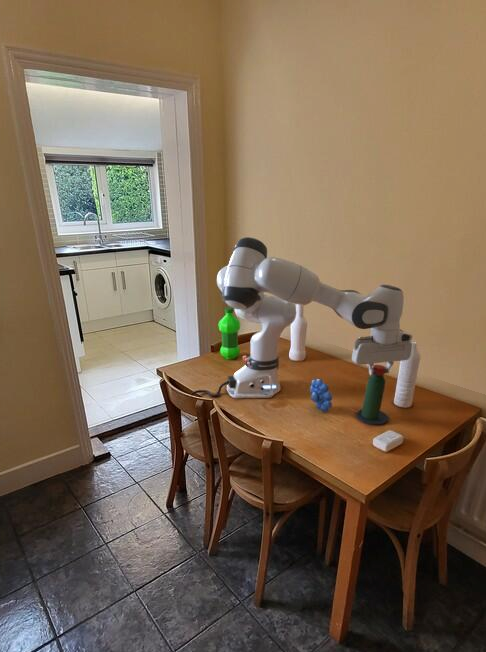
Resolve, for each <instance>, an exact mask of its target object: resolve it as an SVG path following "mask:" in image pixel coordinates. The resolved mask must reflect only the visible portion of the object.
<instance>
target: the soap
mask: <svg viewBox="0 0 486 652" xmlns="http://www.w3.org/2000/svg"><path fill="white" fill-rule="evenodd" d="M403 441H404V436H403V435H402V434H400V433H398V432H396V431H393V430H392V429H389V430H387V431H385V432H383V433H381V434H379V435H377V436H376V437H374V438H373V441H372V446H373V447H375V448H377V449H379V450H381V451H382V452H385V453H387V452H389V451H392V450H393V449H395V448H396V447H398V446H400V445H401V444H403V443H404V442H403Z"/></svg>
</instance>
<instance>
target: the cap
mask: <svg viewBox="0 0 486 652" xmlns="http://www.w3.org/2000/svg"><path fill="white" fill-rule="evenodd" d="M372 368H373V369H375V370H376V371H375V374H376V375H383V376H384V375H385V374H386V373H385V366H384V365H381V364H374V365H373V366H372Z"/></svg>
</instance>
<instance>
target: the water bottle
mask: <svg viewBox="0 0 486 652" xmlns="http://www.w3.org/2000/svg"><path fill="white" fill-rule="evenodd" d="M411 343H412V350H411V356H410V358H409V359H408V360H401V361H400V362H399V368H398V374H397V378H396V379H397V381H396V386H395V393H394V398H393V404H394V405H395V406H397V407H399V408H403V409H404V408H405V409H407V408H411V407H412V405H413V399H414V394H415V389H416V384H417V378H418V372H419V366H420V361H421V353H420V351H419V349H418V347H417V346H418V345H417V342H415V341H411Z"/></svg>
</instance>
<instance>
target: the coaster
mask: <svg viewBox="0 0 486 652" xmlns="http://www.w3.org/2000/svg"><path fill="white" fill-rule="evenodd" d="M361 413H362V409H360V410H359V411H357V413H356V418H357V420H358V421H360V422H361V423H363V424H366V425H370V426H383V425H385V424H387V423H388V422H389V415H388V414H386V413H385V412H384V411H381V410H380V412H379V417H378V419H376V420H369V419H366V418H364V417H362V415H361Z"/></svg>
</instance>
